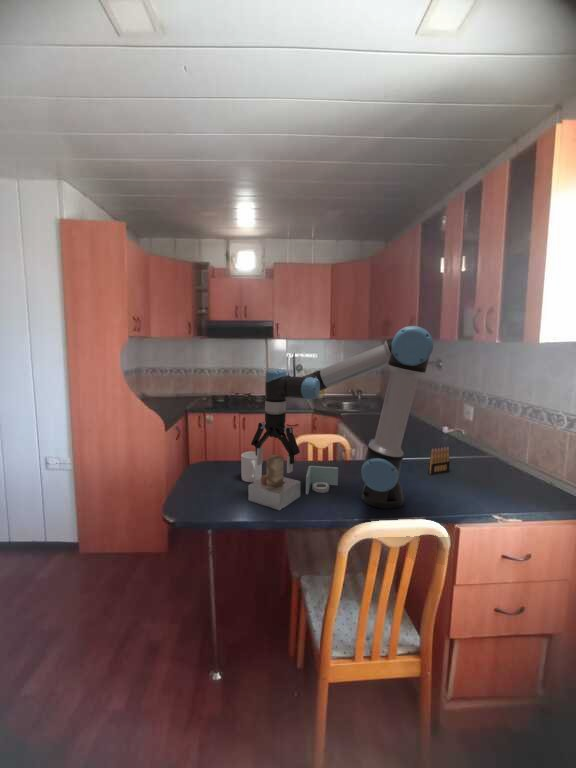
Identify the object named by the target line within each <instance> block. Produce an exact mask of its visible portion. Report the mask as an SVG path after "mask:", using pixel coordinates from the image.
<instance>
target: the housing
mask: <svg viewBox="0 0 576 768" xmlns="http://www.w3.org/2000/svg"><path fill="white" fill-rule="evenodd" d="M247 487H248V498H247V499H248V501H249V502H252V503H255V504H259V505H261V506H265V507H268V508H270V509H274V510H277V511H281V510H282V508H283V509H284V508H285V507H287V506H288V505H290V504H291V503H293V502H294V501H296V500H298V498H300V497H301V481H300V480H297V479H293V478H289V477H285V476H283V484H282V485H281V486H279V487H277V488H276V487H273V486H269V485H266V474H262V476H261V479H259V480H257V481H255V482H250V484H248V486H247Z"/></svg>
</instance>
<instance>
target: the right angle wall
mask: <svg viewBox="0 0 576 768" xmlns="http://www.w3.org/2000/svg"><path fill="white" fill-rule="evenodd" d="M338 482H339V467H337V466H336V467H335V466H319V465H308V468H307V471H306V475H305V495H309V492H310V488H311V490H312V491H314V492H315V493H318V494H320V493H321V494H325V493H328V492H329V491H330V489H331V488H330V486H338V484H339V483H338ZM311 485H312V487H311Z"/></svg>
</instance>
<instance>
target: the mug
mask: <svg viewBox="0 0 576 768" xmlns="http://www.w3.org/2000/svg"><path fill="white" fill-rule="evenodd" d="M240 457H241V459H240V462H241V466H240V468H241V475H240V476H241V480H242V481H243V482H246V483H253V482H255V481H257V480H259V479H261V476H263V474H262V473H263V472H262V469H263V468H262V464H260V465H257V456H256V451H245V452H243V453H241V456H240Z"/></svg>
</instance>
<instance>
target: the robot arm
mask: <svg viewBox="0 0 576 768" xmlns="http://www.w3.org/2000/svg"><path fill="white" fill-rule="evenodd" d="M433 341H434V340H433V337H432V335H431V334H430V332H428V330H427V329H425V328H423V327H422V326H417V325H409V326H405V327H402V328H401V329H399V330H397V332H396V334H394V336H393V337H391V338H389V339H387V340H385V341H384V343H383V344H381V345H379V346H377V347H374V348H372V349H371V348H370V349H369V350H366V351H363V352H362V353H359V354H356V355H354V356H351V357H349V358H346V359H344V360H341V361H339V362H336V363H334V364H331V365H330V366H327V367H324V368H322V369H319V370H317V371H314V372H311V373H309V374H306V375H303V376H290V375H288V374H287V370H284V369H268V370H267V371H266V372H265V382H264V383H265V385H264V386H265V389H264V390H265V399H264V401H265V402H264V406H265V407H264V411H265V413H264V421H262V422H259V423H258V425H257V430H256V431H255V433H254V436H253V438H252V440H251V443H250V445H252V446H253V447H255V452H256V456H257V465H260V464H263V463H264V460H263V459H264V447H263V444H264V443H265V442H266V441H267V440H268V439H269V437H270V438H275V439H278V440H279V441H280V442H281V444H282V445H283V447H284V449H285V450H286V452H287V453H288V454H287V455H286V474H290V473H292V472H293V471H294V470H293V469H294V468H293V467H294V464H295V462H296V460H295V457H296V455H299V454H300V453H301V451H300V449H299V446H298V444H297V441H296V438H295V436H294V430H293V426H289V427H286V425H285V424H286V417H287V416H286V409H287V404H286V403H287V398H294V399H295V398H297V399H305V400H316V399H318V398H319V394H320V392H321V391H324V390H327V389H328V388H331V387H334V386H337V385H339V384H341V383H345V382H347V381H350V380H353V379H355V378H357V377H361V376H363V375H366V374H369V373H372V372H375V371H377V370H380V369H382V368H384V367H387V366H388V368H389V370H390V371H391V372H390V375H389V379H388V383H387V386H386V387H387V388H386V392H385V396H384V400H383V404H382V409H381V412H380V417H379V421H378V423H377V424H378V425H377V428H376V433H375V437H374V438H371V439H370V440H369V441H368V444H367V445H368V446H367V449H366V453H365V454H366V455H365V457H364V462H363V464H362V466H361V468H360V472H361V479H362V480H363V482H364V486H363V488H362V492H361V500H363V502H364V503H366V504H367V505H369V506H372V507H374V508H379V509H386V510H387V509H388V510H389V509H391V510H392V509H397V508H400V507H402V505H404V500H405V499H404V498H405V497H404V493H403V490H402V486H401V482H400V481H401V480H400V477H401V466H402V462H403V459H404V454H405V452H404V450H402V444H403V439H404V435H405V432H406V429H407V424H408V420H409V417H410V411H411V408H412V406H413V405H412V404H413V401H414V399H415V393H416V390H417V387H418V382H419V379H420V377H422V376H423V375H425V374H426V370H427V368H428V364H429V360H430V357H431V354H432V353H433V351H434V349H433V348H434V342H433ZM264 430H266V431H265V432H264ZM263 432H264V433H263ZM262 434H263V435H262Z"/></svg>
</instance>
